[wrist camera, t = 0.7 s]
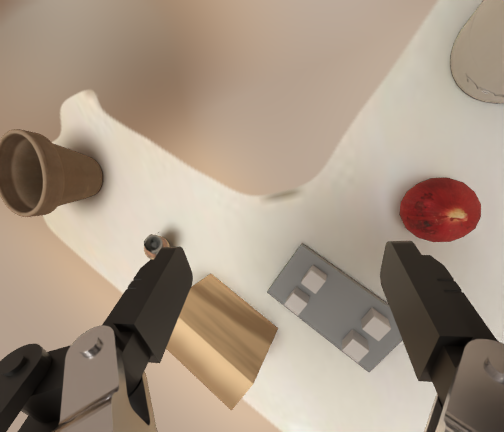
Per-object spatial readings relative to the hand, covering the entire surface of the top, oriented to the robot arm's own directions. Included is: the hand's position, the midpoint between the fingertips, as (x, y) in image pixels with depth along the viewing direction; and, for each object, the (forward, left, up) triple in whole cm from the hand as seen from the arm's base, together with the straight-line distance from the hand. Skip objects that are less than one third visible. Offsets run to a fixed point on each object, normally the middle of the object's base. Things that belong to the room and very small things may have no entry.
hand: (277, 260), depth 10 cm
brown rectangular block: (+19, -1, -21) cm, 28 cm away
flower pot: (+17, -34, -21) cm, 44 cm away
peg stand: (+9, +8, -21) cm, 24 cm away
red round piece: (-6, +9, -21) cm, 24 cm away
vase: (+17, -15, -21) cm, 31 cm away
